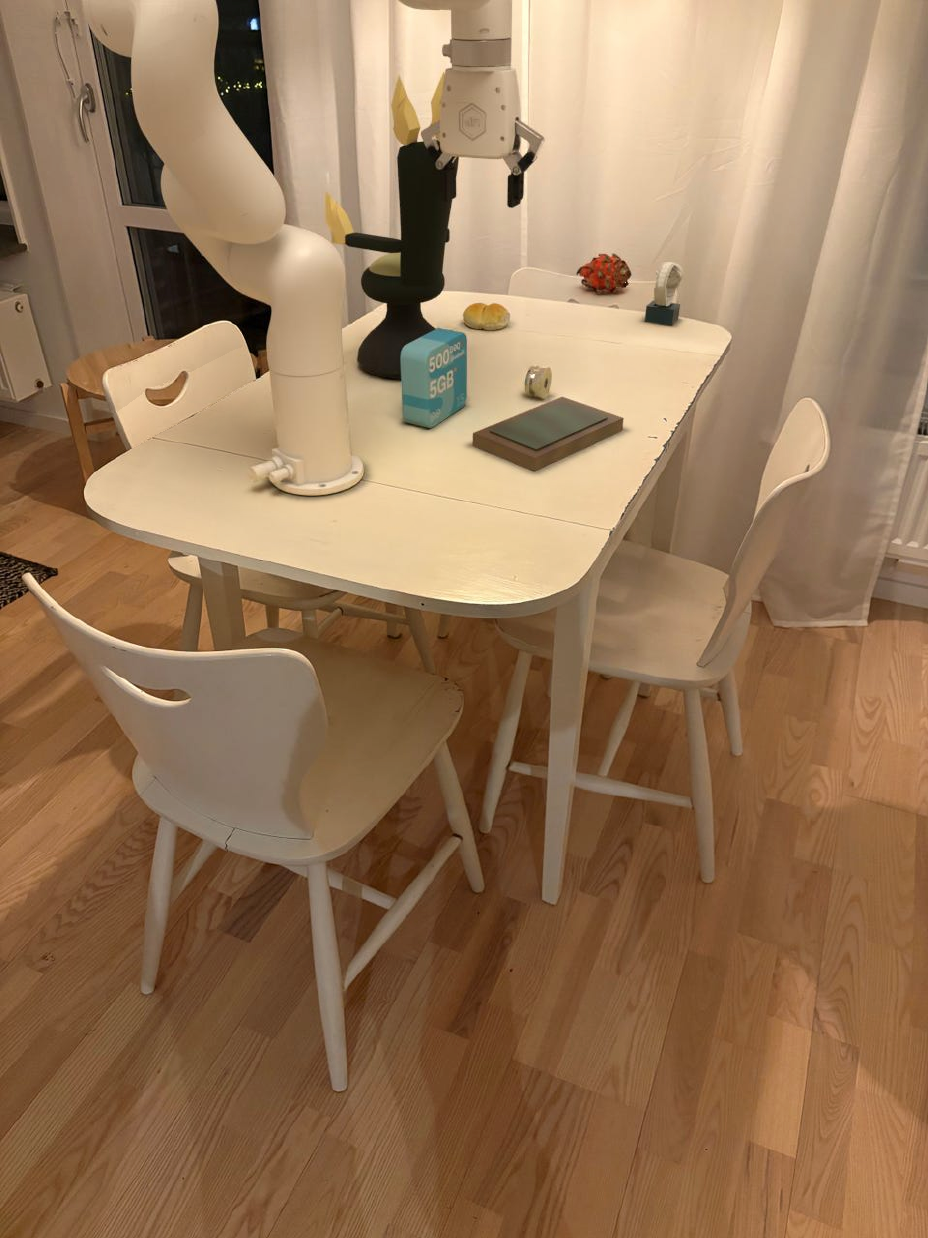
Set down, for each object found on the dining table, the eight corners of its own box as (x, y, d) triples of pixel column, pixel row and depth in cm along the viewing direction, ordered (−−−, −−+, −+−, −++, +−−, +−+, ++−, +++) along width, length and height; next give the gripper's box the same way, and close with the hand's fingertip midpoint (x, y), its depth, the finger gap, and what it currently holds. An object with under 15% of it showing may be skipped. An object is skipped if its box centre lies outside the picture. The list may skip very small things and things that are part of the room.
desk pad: (534, 471, 126) (535, 456, 125) (472, 445, 133) (472, 431, 132) (622, 430, 138) (624, 416, 137) (561, 408, 145) (562, 394, 144)
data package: (427, 431, 137) (425, 352, 130) (402, 425, 139) (399, 347, 132) (467, 405, 146) (467, 329, 139) (443, 399, 148) (442, 324, 141)
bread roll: (470, 316, 184) (471, 295, 182) (513, 320, 182) (514, 300, 179) (456, 327, 178) (456, 306, 175) (500, 333, 175) (500, 311, 173)
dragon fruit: (632, 303, 197) (578, 305, 201) (638, 271, 199) (585, 273, 204) (624, 275, 189) (569, 278, 194) (632, 242, 192) (576, 246, 197)
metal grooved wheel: (539, 403, 147) (541, 372, 144) (522, 400, 148) (523, 369, 145) (550, 392, 150) (552, 362, 147) (534, 389, 151) (535, 360, 148)
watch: (680, 317, 184) (688, 259, 177) (669, 328, 178) (676, 269, 172) (653, 313, 186) (660, 256, 180) (641, 324, 180) (647, 265, 174)
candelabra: (417, 340, 172) (410, 59, 146) (498, 372, 158) (506, 68, 132) (333, 362, 161) (310, 65, 136) (412, 399, 148) (402, 75, 122)
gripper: (406, 56, 115) (412, 202, 125) (534, 60, 109) (530, 213, 119) (433, 51, 121) (436, 192, 131) (556, 54, 115) (550, 202, 125)
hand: (481, 202), depth 125 cm, fingers open, 9 cm apart
